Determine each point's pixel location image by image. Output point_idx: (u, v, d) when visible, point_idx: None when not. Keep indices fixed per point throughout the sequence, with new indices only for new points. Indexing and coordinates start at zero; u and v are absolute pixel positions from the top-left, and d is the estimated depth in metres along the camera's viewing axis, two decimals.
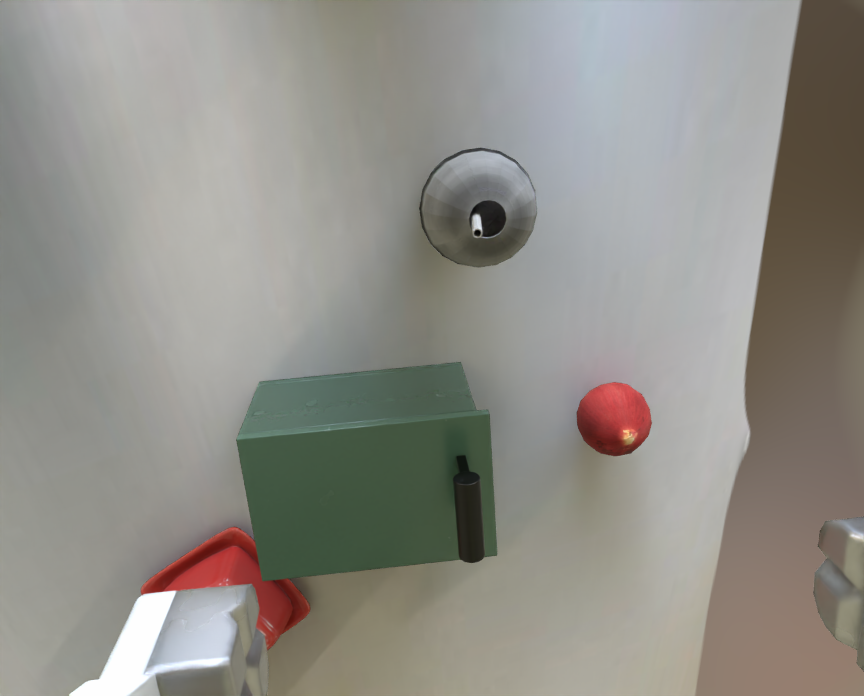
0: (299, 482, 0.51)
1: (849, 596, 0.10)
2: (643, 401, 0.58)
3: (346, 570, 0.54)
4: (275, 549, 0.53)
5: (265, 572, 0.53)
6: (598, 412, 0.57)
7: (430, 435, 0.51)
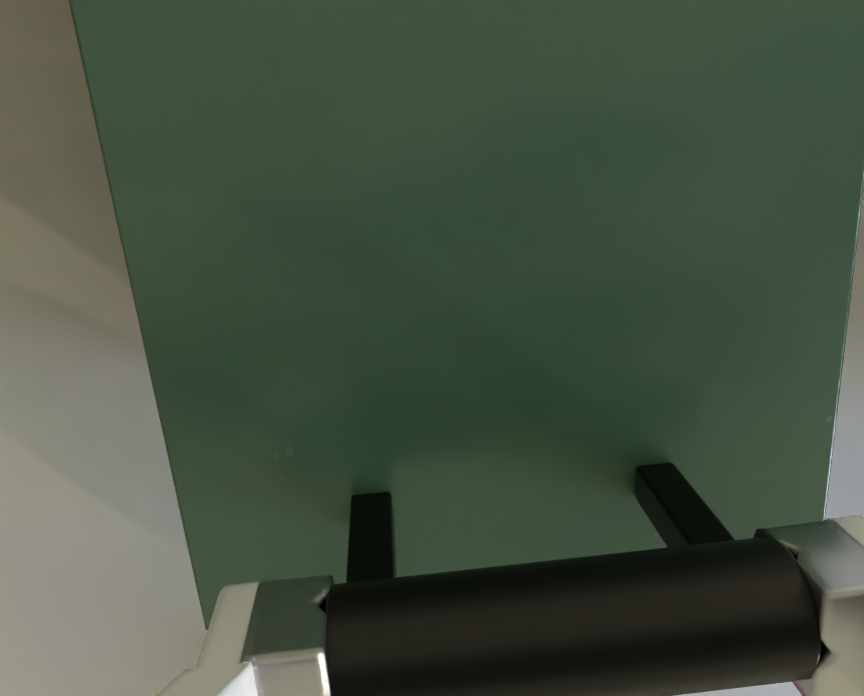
0: None
1: None
2: None
3: None
4: None
5: None
6: None
7: (777, 363, 0.12)
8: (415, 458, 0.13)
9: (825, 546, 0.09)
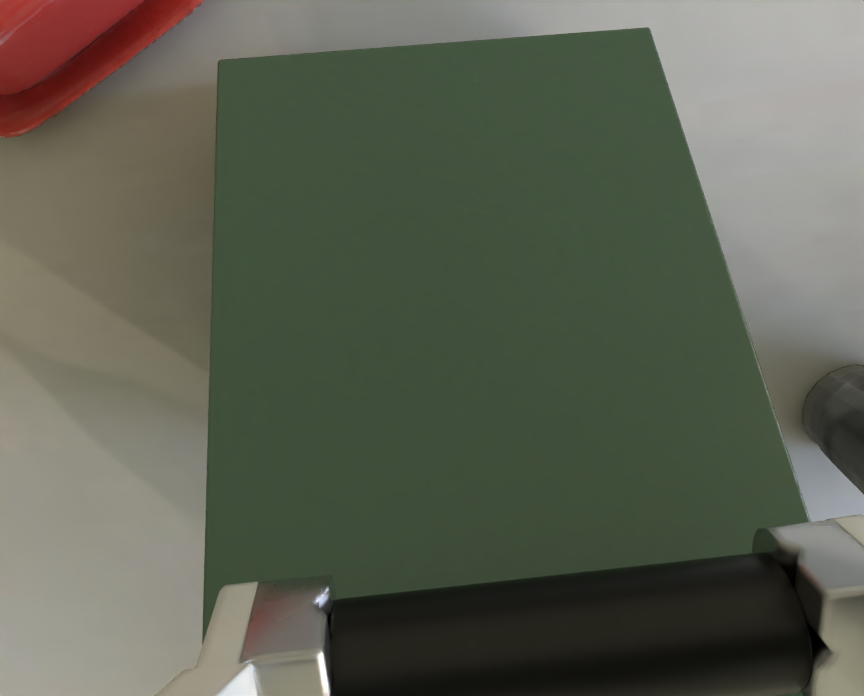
0: (536, 147, 0.18)
1: None
2: None
3: (219, 258, 0.17)
4: (320, 89, 0.19)
5: (246, 66, 0.19)
6: None
7: (748, 518, 0.14)
8: None
9: (826, 546, 0.09)
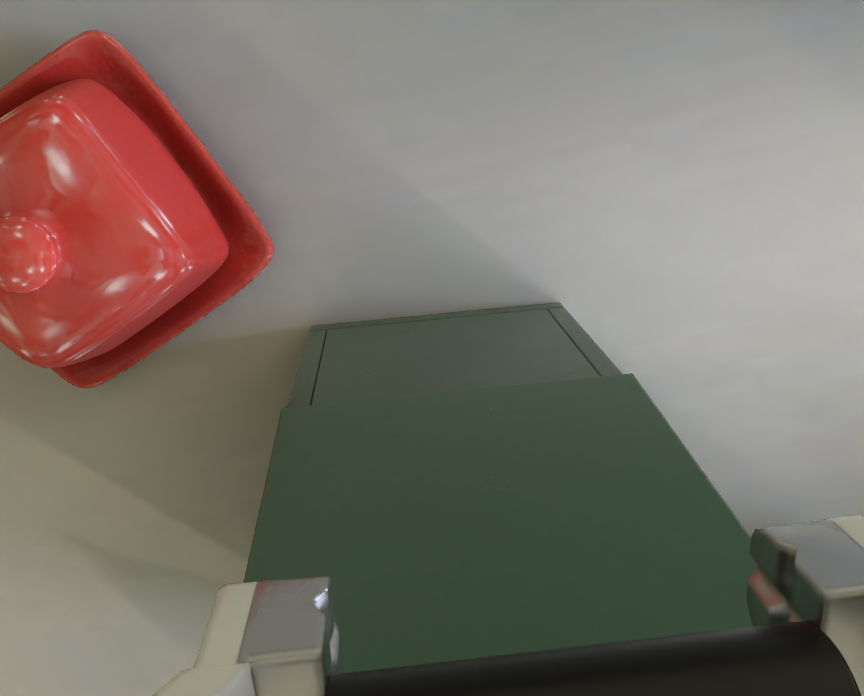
0: (545, 445, 0.21)
1: (777, 603, 0.10)
2: None
3: (261, 529, 0.18)
4: (362, 420, 0.23)
5: (304, 410, 0.23)
6: None
7: None
8: None
9: (823, 546, 0.09)
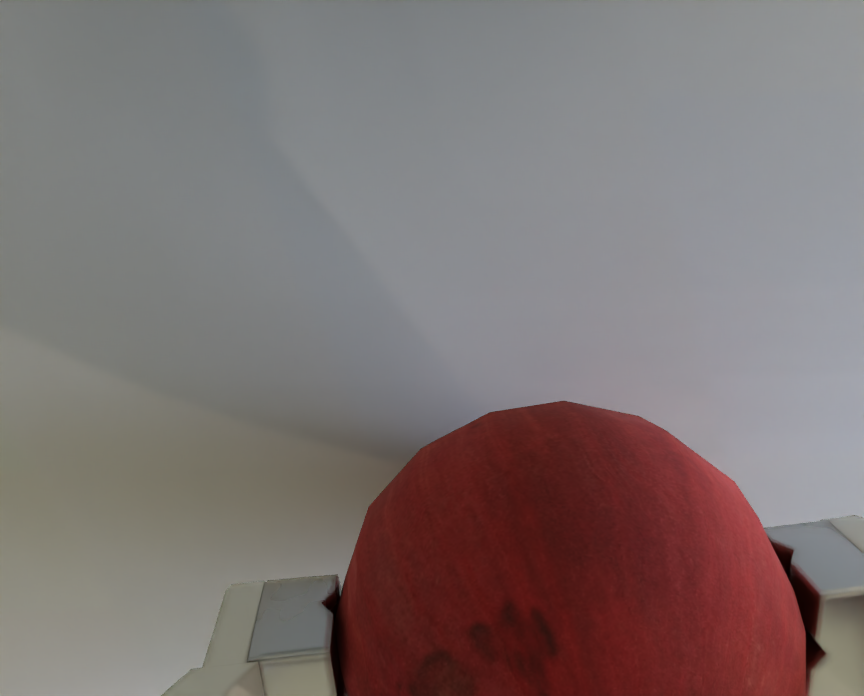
0: None
1: None
2: None
3: None
4: None
5: None
6: (744, 583, 0.08)
7: None
8: None
9: (819, 546, 0.09)
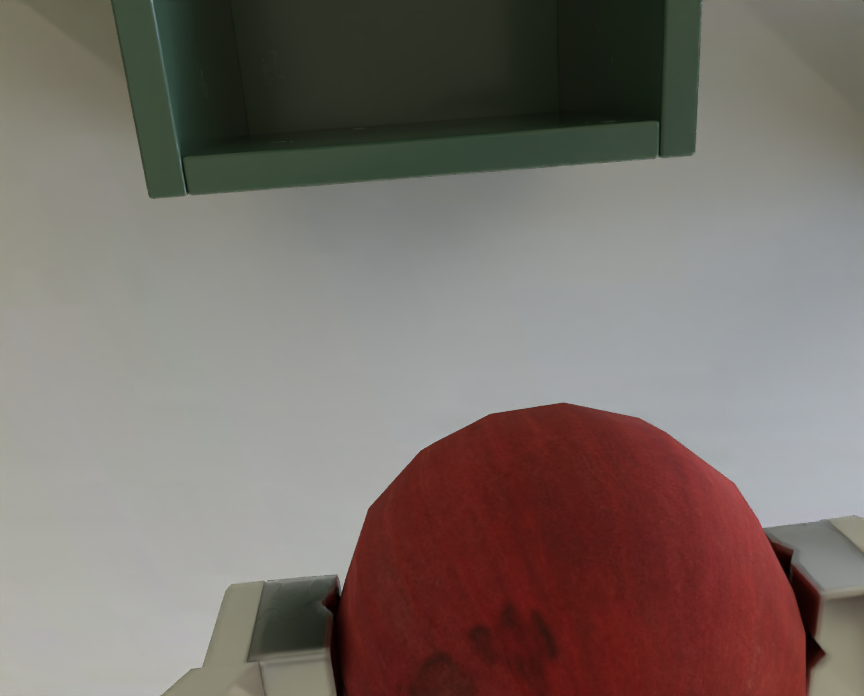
0: None
1: None
2: None
3: None
4: None
5: None
6: (744, 585, 0.08)
7: None
8: None
9: (819, 547, 0.09)
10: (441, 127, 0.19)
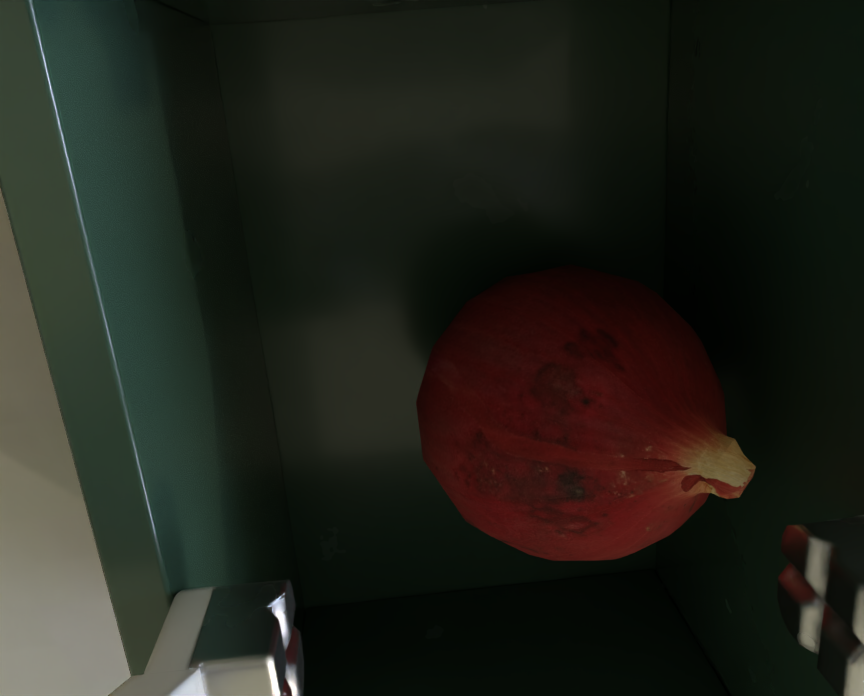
0: None
1: (810, 600, 0.10)
2: None
3: None
4: None
5: None
6: (687, 326, 0.14)
7: None
8: None
9: (858, 542, 0.10)
10: None
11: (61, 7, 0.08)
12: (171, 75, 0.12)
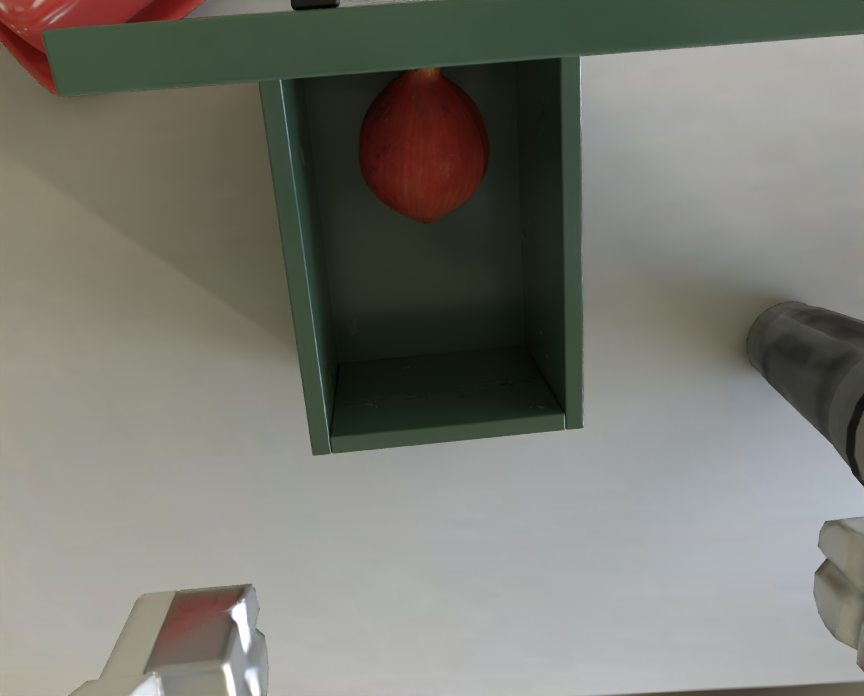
0: None
1: (849, 596, 0.10)
2: (466, 144, 0.30)
3: None
4: None
5: None
6: None
7: None
8: None
9: None
10: (455, 387, 0.35)
11: None
12: (295, 85, 0.31)
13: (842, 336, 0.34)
